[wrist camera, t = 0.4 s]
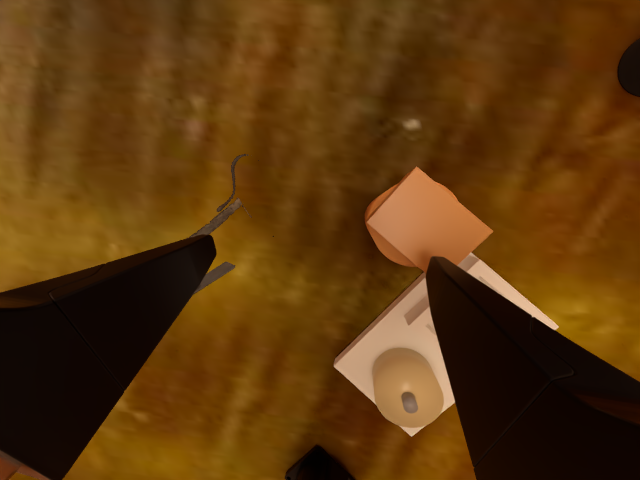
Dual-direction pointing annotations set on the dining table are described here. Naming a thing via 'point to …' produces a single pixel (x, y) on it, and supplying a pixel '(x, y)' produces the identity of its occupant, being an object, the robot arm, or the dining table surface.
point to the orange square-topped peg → (422, 223)
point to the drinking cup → (630, 69)
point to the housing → (413, 353)
